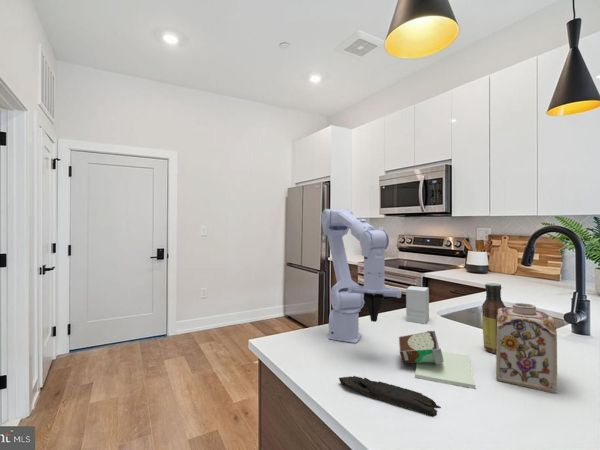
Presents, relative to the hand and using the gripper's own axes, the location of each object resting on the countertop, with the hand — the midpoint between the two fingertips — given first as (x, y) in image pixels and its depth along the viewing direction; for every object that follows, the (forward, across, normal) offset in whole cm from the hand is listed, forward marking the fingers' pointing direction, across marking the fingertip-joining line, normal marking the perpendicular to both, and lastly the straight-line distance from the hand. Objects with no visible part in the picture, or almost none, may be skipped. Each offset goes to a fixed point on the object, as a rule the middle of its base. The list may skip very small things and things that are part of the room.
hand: (374, 320), depth 90 cm
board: (+10, +18, +1) cm, 21 cm away
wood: (+11, +6, -19) cm, 23 cm away
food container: (+9, +7, 0) cm, 11 cm away
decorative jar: (+11, +36, +3) cm, 38 cm away
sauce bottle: (+11, +32, +19) cm, 39 cm away
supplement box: (+11, +9, +42) cm, 44 cm away
